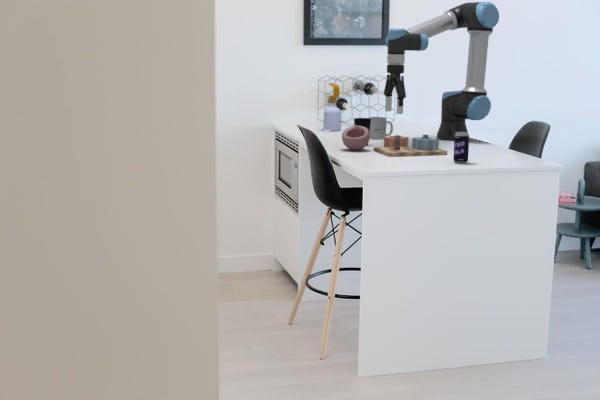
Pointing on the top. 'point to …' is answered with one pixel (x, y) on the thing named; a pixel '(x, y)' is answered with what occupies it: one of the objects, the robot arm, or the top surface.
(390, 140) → the loose gear
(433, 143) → the seated gear
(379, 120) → the mug
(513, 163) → the top surface
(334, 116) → the soap bottle
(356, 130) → the mortar and pestle
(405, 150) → the gear board
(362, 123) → the cup
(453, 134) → the robot arm
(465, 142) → the beverage can
